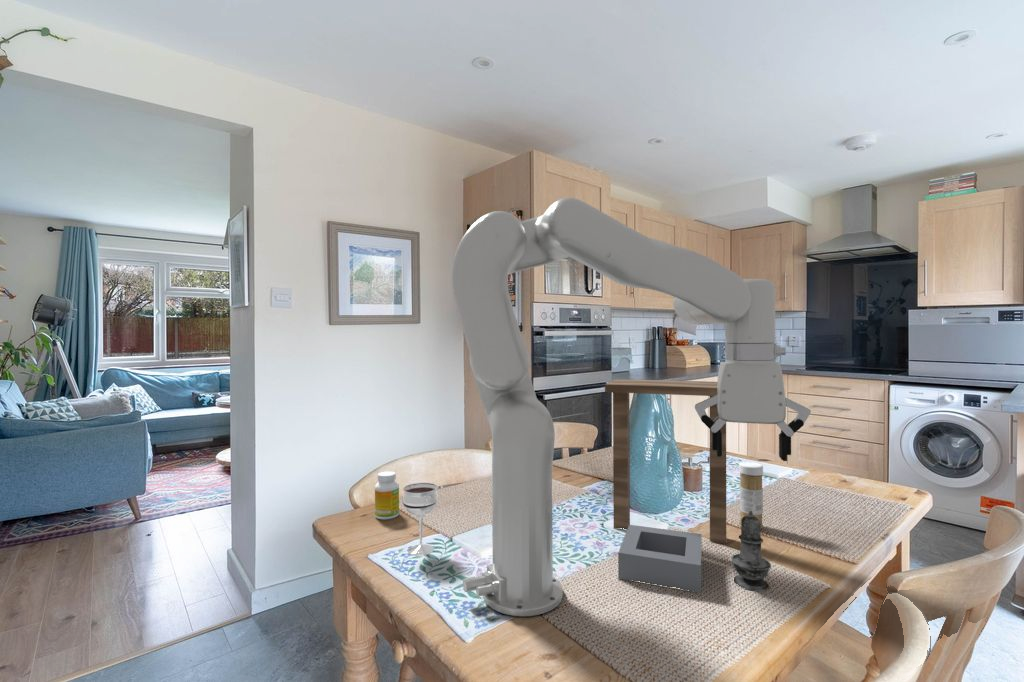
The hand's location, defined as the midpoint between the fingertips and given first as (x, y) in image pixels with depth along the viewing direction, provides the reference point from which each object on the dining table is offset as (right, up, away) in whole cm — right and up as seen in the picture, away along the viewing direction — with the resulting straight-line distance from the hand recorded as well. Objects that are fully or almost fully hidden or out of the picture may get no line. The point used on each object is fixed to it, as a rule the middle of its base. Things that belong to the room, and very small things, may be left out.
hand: (750, 456), depth 81 cm
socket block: (-13, -21, +5) cm, 25 cm away
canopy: (-9, -21, +16) cm, 27 cm away
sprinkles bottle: (+11, -21, +23) cm, 33 cm away
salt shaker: (0, -21, -1) cm, 21 cm away
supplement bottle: (-68, -21, +31) cm, 78 cm away
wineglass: (-57, -21, +13) cm, 62 cm away
